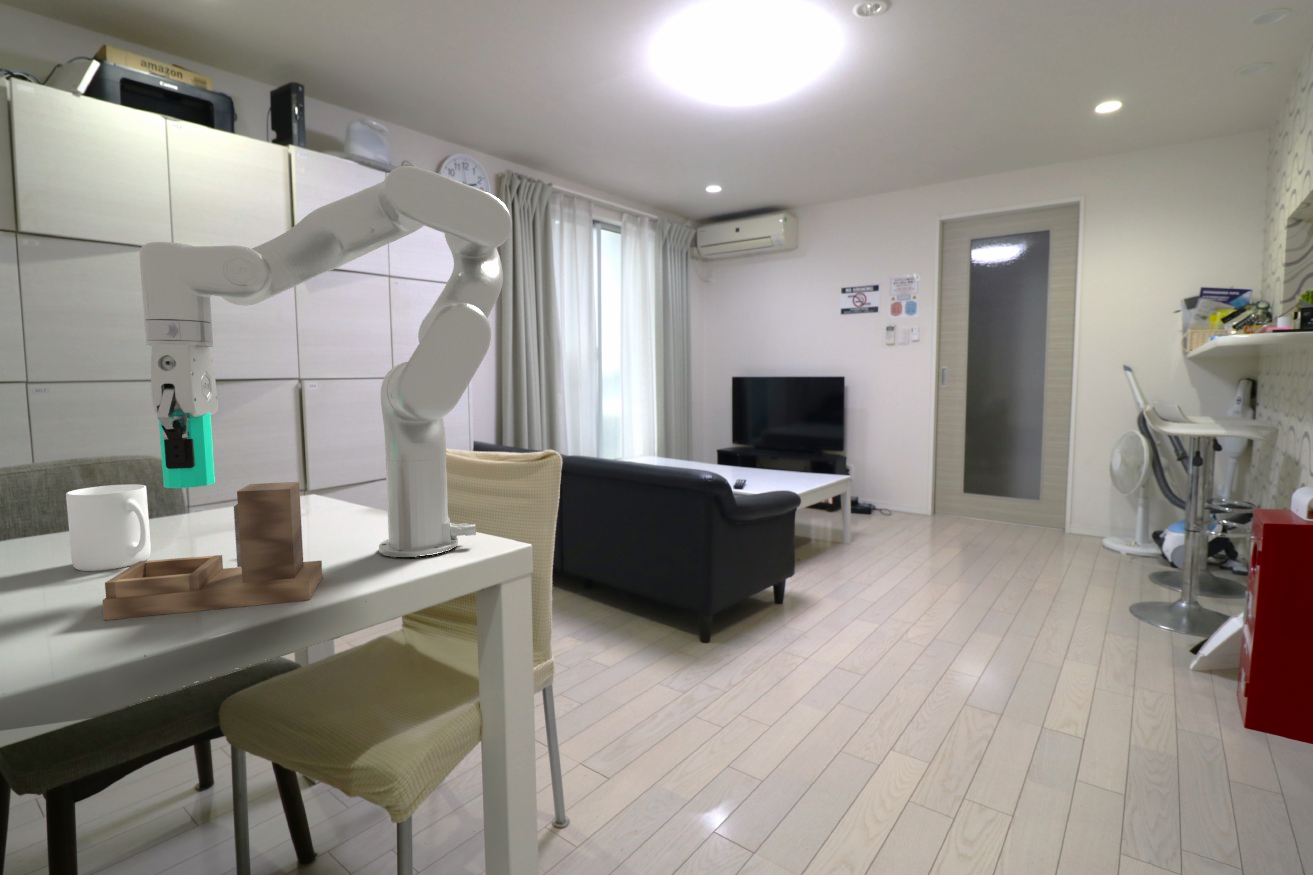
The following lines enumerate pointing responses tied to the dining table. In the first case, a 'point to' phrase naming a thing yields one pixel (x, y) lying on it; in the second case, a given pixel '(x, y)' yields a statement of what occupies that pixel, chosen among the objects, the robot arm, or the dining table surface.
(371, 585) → the dining table surface
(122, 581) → the brown wooden stand
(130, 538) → the mug
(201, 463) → the candle
